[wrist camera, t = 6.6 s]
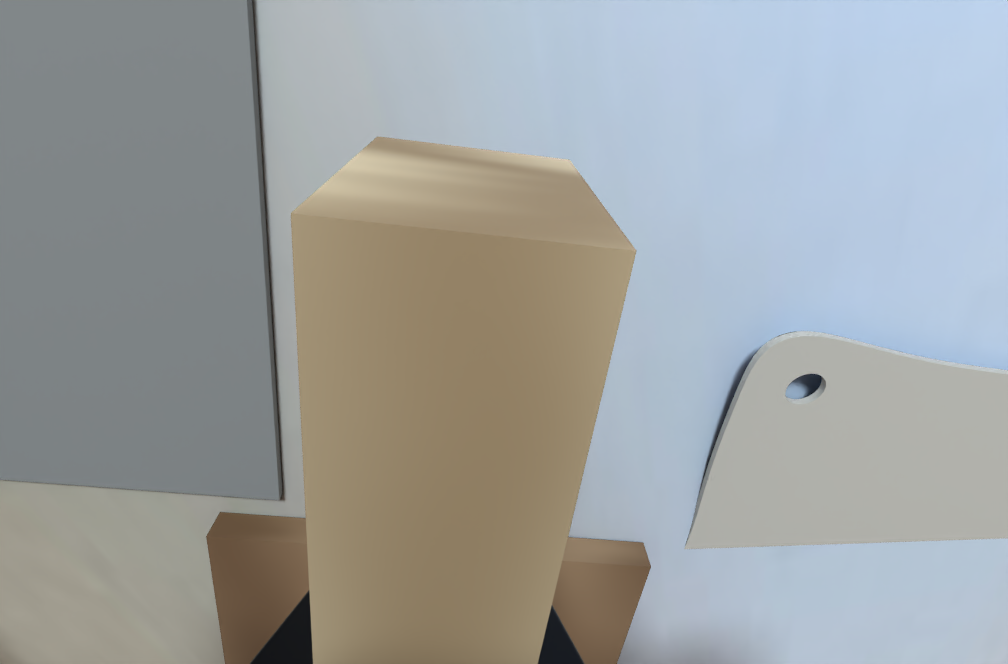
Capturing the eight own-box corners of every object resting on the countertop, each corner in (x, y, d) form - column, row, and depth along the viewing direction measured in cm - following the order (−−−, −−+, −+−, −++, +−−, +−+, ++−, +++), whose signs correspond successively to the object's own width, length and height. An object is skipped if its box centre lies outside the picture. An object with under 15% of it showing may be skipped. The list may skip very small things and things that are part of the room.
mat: (-59, 467, 17) (-68, 474, 17) (-385, -330, 9) (-410, -341, 9) (282, 493, 18) (279, 500, 18) (239, -218, 10) (231, -225, 10)
